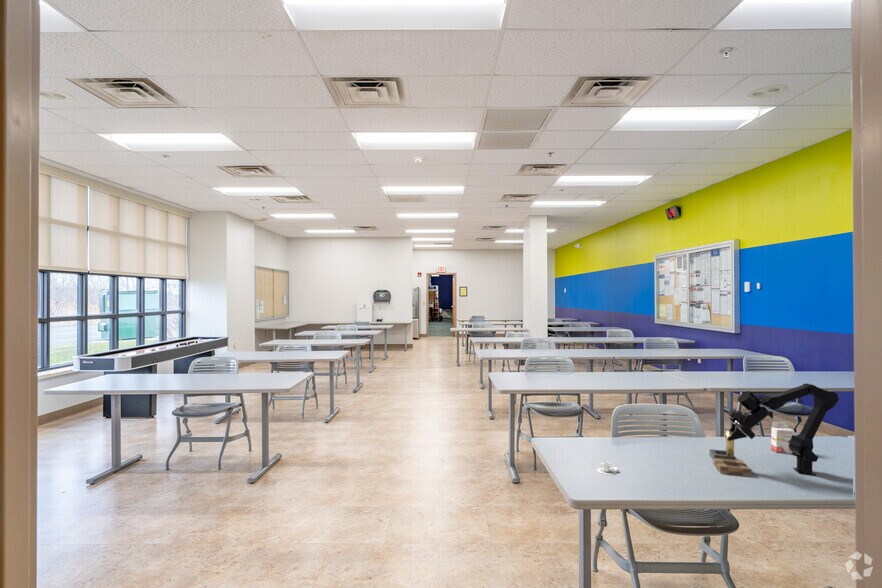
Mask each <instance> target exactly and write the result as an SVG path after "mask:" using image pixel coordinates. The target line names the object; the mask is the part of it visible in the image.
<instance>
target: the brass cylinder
mask: <svg viewBox="0 0 882 588" xmlns="http://www.w3.org/2000/svg"><path fill="white" fill-rule="evenodd" d="M732 433H733V431H729V430H726V431H725V436H726V437H725V451H726V456H729V457H734V456H735V440H731V441H728V440H727V438H728V437H729V436H730V435H731V434H732Z"/></svg>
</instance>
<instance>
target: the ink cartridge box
mask: <svg viewBox="0 0 882 588" xmlns="http://www.w3.org/2000/svg"><path fill="white" fill-rule="evenodd" d="M789 425H790V423H789V421H772V422H771V428H770V429H771V433H770V434H771V436H770V437H771V439H770V440H771V441H770V442H771V443H770V446H771V447H770V450H771V451H773V452H775V453H780V454H792V451H791V450H790V449H789V443H788V442H789V441H790V440H791V437H792V435H794V436H795V430H794V429H792V428H789Z"/></svg>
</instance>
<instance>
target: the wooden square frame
mask: <svg viewBox="0 0 882 588" xmlns="http://www.w3.org/2000/svg"><path fill="white" fill-rule="evenodd" d="M712 464H713V466H714V467H715V468H716V469H717V471H718V472H719V473H720V474H723V475H724V474H725V475H733V476H741V477H752V469H751V468H750V466H748V465H747V463H745V462H744V461H743V460H742V459H741V460H740V459H736V460H731V459H720V458H713V459H712Z"/></svg>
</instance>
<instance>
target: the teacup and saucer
mask: <svg viewBox="0 0 882 588" xmlns="http://www.w3.org/2000/svg"><path fill="white" fill-rule="evenodd" d="M599 465H600V467H599V468H597V470H596V471H597V472H598V473H600V474H604V475H608V473H609V472H611V473H610V475H615V474H616V473H617V472H619V468H618V467H616V466H615V467H611V462H608V461H603V462H602V463H600V464H599ZM601 470H603V471H601Z"/></svg>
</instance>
